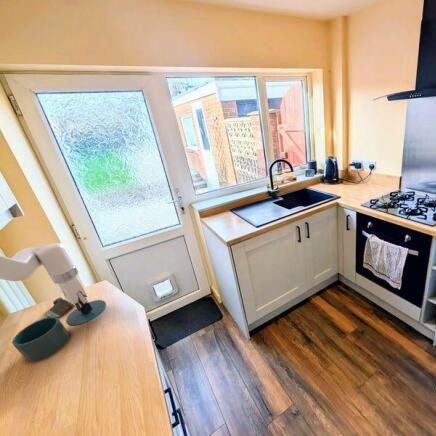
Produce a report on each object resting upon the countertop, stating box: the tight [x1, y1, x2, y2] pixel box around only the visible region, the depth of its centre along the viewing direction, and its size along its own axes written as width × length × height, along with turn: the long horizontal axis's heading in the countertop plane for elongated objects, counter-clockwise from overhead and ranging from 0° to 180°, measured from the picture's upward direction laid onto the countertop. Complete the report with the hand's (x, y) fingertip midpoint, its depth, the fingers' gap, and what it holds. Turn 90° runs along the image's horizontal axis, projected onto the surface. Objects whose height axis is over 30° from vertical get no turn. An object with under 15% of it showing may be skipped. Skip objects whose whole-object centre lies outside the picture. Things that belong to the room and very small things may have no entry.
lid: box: [65, 299, 107, 327], centre depth 100 cm, size 13×13×7 cm
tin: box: [11, 316, 70, 363], centre depth 90 cm, size 12×12×8 cm
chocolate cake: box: [45, 296, 75, 318], centre depth 107 cm, size 10×7×12 cm
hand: (85, 310), depth 100 cm, fingers closed on lid, 3 cm apart
